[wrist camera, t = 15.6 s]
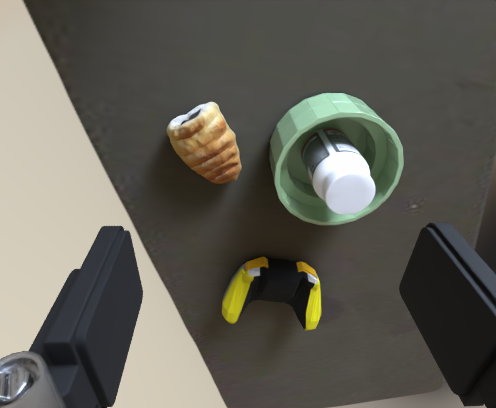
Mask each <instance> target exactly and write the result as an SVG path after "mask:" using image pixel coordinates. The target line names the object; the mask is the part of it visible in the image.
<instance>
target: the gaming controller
mask: <svg viewBox="0 0 496 408" xmlns="http://www.w3.org/2000/svg"><path fill="white" fill-rule="evenodd" d="M253 300H266V301H276V302H285V303H287V304H290V305H291V306H292V307H293V309H294V311H295V313H296V315H297V317H298V319H299V321H300V323H301V325H302V326H303V328H304V330H311V329H315V328H316V326H317V324H318V321H319V319H320V316H321V293H320V282H319V279H318V276H317V273H316V272H315V270H314V269H313V268H311V267H310V266H308V265H307V264H306V263H304V262H302V261H300V262H297V263H296V262H291V261H283V260H275V259H267V258H265V257H259V258H257V259H254V260H252V261H248V262H246V263H245V264H243V265H242V266H241V267H240V268H239V269H238V271H237V272H236V273H235V275H234V276H233V277H232V279H231V281H230V283H229V285H228V287H227V290H226V292H225V294H224V296H223V300H222V308H221V310H222V314H223V316H224V318H225V319H226V321H228V322H229V323H232V324H233V323H235V322H237V320H238V319H239V317H240V316H241V314H242V313H243V311H244V309H245V308H246V306H247V305H248V303H249V302H251V301H253Z"/></svg>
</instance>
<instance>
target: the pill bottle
mask: <svg viewBox="0 0 496 408" xmlns="http://www.w3.org/2000/svg"><path fill="white" fill-rule="evenodd" d="M301 157H302V161H303V164H304V166H305V168H306V171H307V173H308V176H309V178H310V181H311V183H312V185H313V188H314V190H315V192H316V193H317V195H318V196H319V197H320V198H322V199H323V200H325V202H326V204H327V206H328V207H329V209H330V210H332V211H333V212H335V213H337V214H342V215H350V214H354V213H357V212H359V211H361V210H363V209H364V208H366V207H367V206H368V205H369V204H370V203H371V201H372V200H373V198H374V195H375V184H374V182H373V180H372V178H371V177H370V170H369V167H368V164H367V163H366V161H365V159H364V158H363V157H362V156H361V154H360V153H359V152H358V150H357V149H356V148H355V146H354V145H353V143H352V142H351V141H350V139H349V138H348V137H347V136H346V134H344V133H343V132H342V131H340V130H338V129H336V128H322V129H319V130H317V131H315V132H313V133H312V134H311V135H309V136H308V138H307V139H306V140H305V142H304V144H303V146H302V150H301Z"/></svg>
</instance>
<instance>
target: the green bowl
mask: <svg viewBox="0 0 496 408" xmlns="http://www.w3.org/2000/svg"><path fill="white" fill-rule="evenodd" d="M322 128H336V129H338V130H340V131H342V132H343V133H344V134H346V136H347V137H348V138H349V139H350V141H351V142H352V143H353V145H354V146H355V148H356V149H357V150H358V152H359V153H360V154H361V156H362V157H363V158H364V159H365V161H366V163H367V164H368V167H369V170H370V177H371V178H372V180H373V182H374V184H375V195H374V198H373V200H372V201H371V203H370V204H369V205H368V206H367V207H366V208H364V209H363V210H361V211H359V212H357V213H354V214H350V215H342V214H337V213H335V212H333V211H332V210H330V209H329V207H328V206H327V204H326V202H325V200H323V199H322V198H320V197H319V196H318V195H317V193H316V192H315V190H314V188H313V185H312V183H311V181H310V178H309V176H308V173H307V171H306V168H305V166H304V164H303V161H302V157H301V150H302V146H303V144H304V142H305V140H306V139H307V138H308V136H309V135H311V134H312V133H313V132H315V131H317V130H319V129H322ZM269 160H270V165H271V170H272V174H273V179H274V184H275V187H276V190H277V194H278V197H279V200H280V201H281V202H282V203H283V205H284V206H285V207H286V209H287V210H288V211H289V212H290V213H292V214H293V215H295V216H296V217H298V218H300V219H301V220H303V221H306V222H310V223H314V224H317V225H339V224H343V223H347V222H351V221H355V220H357V219H359V218H361V217H363V216H365V215H367V214H369V213H371V212H372V211H374V210H375V209H376V208H377V207H378V206H380V205H381V204H382V203H383V202H384V201H385V200H386V199H387V198H388V197H389V195H390V194H391V192H392V191H393V190H394V188H395V187H396V185H397V184H398V181H399V178H400V175H401V172H402V168H403V148H402V145H401V143H400V141H399V139H398V137H397V134H396V132H395V131H394V130H393V129H392V128H391V127H390V126H389V125H388V124H387V123H386V122H385V121H384V120H383V119H382V118H380V117H379V116H378V115H377V114H376V113H375V112H374V111H373V110H372V109H371V108H370V107H369V106H367V105H366V104H365V103H364V102H363V101H362V100H360V99H358V98H355V97H352V96H350V95H347V94H343V93H324V94H320V95H317V96H314V97H311V98H307V99H305V100H303V101H302V102H300V103H299V104H297V105H296V106H294V107H293V108H291V109H290V110H289V111H288V112H287V113H286V114H285V115H284V117H283V118H282V119H281V120H280V122H279V123H278V124H277V125H276V128H275V130H274V133H273V135H272V138H271V140H270V149H269Z"/></svg>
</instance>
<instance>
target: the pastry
mask: <svg viewBox="0 0 496 408" xmlns="http://www.w3.org/2000/svg"><path fill="white" fill-rule="evenodd" d="M167 135H168V136H169V138H170V142H171V144H172V146H173V148H174V150H175V152H176V153H177V154H178V155H179V156H180V157H181V158H182V160H183V161H184V162H185V164H187V165H188V166H189V167H190V168H191V169H192V170H194V171H196V172H197V173H198V174H200V175H202V176H204V177H205V178H206V179H207V180H209V181H211V182H213V183H215V184H222V183H226V182H229V181H234V180H236V179H237V177H238V175H239V172H240V170H241V163H240V159H239V150H238V147H237V144H236V140H235V139H236V137H235V134H234V132H233V131H232V130H231V129H230V128H229V126H228V124H227V123H226V121H225V118H224V117H223V115H222V114H221V112H220V110H219V106H218V105H217V104H216V103H214V102H209V103H206V104H202V105H199V106H197V107H195V108H194V109H193V110H191V111H190V112H189V113H188V114H186V115H181V116H178V117H176V118H175V119H173V120H172V121H171V122H170V124H169V125H168V128H167Z"/></svg>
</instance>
